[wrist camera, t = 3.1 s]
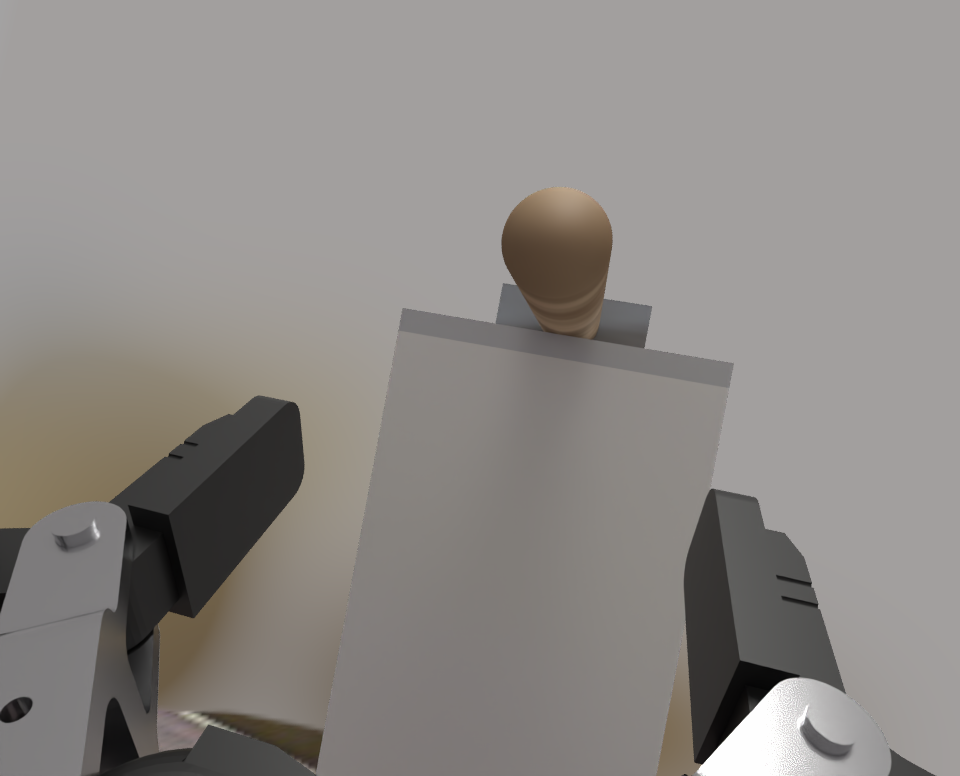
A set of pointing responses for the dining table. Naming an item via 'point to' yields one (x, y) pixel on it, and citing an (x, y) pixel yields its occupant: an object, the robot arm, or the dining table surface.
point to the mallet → (565, 271)
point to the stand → (522, 555)
